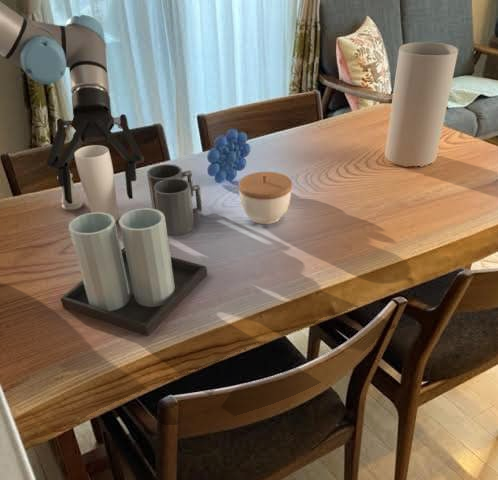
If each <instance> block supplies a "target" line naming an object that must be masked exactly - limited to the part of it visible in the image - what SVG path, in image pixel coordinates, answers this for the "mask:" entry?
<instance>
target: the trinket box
mask: <svg viewBox="0 0 498 480" xmlns="http://www.w3.org/2000/svg"><path fill="white" fill-rule="evenodd" d="M292 188H293V182H292V180H291V178H289V176H286V175H285V174H282V173H279V172H276V171H275V172H274V171H258V172H252V173H250V174H246V175H245V176H243V177H241V179H239V181H238V190H239V193H238V194H239V200H240V205H241V207H242V211H243V212H244V213H245V215H246V216H248V217H249V218H250V219H251V220H252V221H253V222H254V223H256V224H259V225H270V224H274V223H277V222H278V221H279V220H280V218H282V217H283V216H284V215H285V214H286V212H287V211H288V208H289V206H290V203H291V198H292Z"/></svg>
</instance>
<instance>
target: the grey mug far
mask: <svg viewBox="0 0 498 480" xmlns="http://www.w3.org/2000/svg"><path fill="white" fill-rule="evenodd" d="M146 175H147V182H148V188H149V195H150V200H151V208H152V209H156V210H157V208H156V201H155V195H154V188H153V187H154V185H155V184H156V183H157V182H159V181H161V180H165V179H171V178H179V179H184V178H185V177H186V178H187V180H186V181H188V182H189V183H190V187H191V186H194V184H193V183H194V182H193V173H192V170H186V171H183V169H182V167H180V165H179V166H178V165H176V164H159V165H155V166H152V167H150V168H149V169H148V170H147V171H146ZM194 192H195V191H192V192H191V198H194V195H195V193H194Z"/></svg>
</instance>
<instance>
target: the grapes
mask: <svg viewBox="0 0 498 480" xmlns="http://www.w3.org/2000/svg"><path fill="white" fill-rule="evenodd" d="M247 141H248V135H247V133H246V132H245V131H240V132H238V130H237V129H236V128H230V129H228V130H227V132H226V134H225V135H224V134H222V135H221V134H220V135H218V136H217V137H216V138H215V140H214V147H215V148H212V149H210V150H209V151H208V152H207V156H206V158H207V159H206V160H207V161H208V163H209V165H208V166H207V169H206V171H207V172H206V173H207V174H208V176H209V177H214V178H213V179H214V182H215V183H216V184H223V182H225V180H226V181H227V182H232V181H234V180H235V179H236V177H237V175H238V172H241V171H244V170H245V168H246V166H247V159H246V157H248V156H249V155H250V153H251V145H250V144H249V143H247Z"/></svg>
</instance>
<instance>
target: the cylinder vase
mask: <svg viewBox="0 0 498 480" xmlns="http://www.w3.org/2000/svg"><path fill="white" fill-rule="evenodd" d="M458 54H459V48H458V47H457V46H454V45H451V44H447V43H441V42H435V41H434V42H433V41H417V42H409V43H405V44H402V45H400V46H399V49H398V55H397V64H396V69H395V77H394V84H393V92H392V97H391V98H392V99H391V105H390V113H389V121H388V128H387V134H386V143H385V149H384V157H385V159H386V160H387V159H388V160H387V161H389V162H390V161H391V162H390V163H391V164H394V165H396V166H399V167H405V168H409V167H408V166H420V167H419V168H423V167H428V166H430V165H431V164H430V163H432V164H433V163H434V162H436V160H437V157H438V152H439V147H440V143H441V137H442V134H443V128H444V124H445V123H444V122H445V118H446V112H447V108H448V102H449V98H450V94H451V89H452V83H453V78H454V73H455V68H456V64H457V59H458ZM392 162H393V163H392ZM395 163H396V164H395ZM398 164H399V165H398ZM428 164H429V165H428ZM402 165H405V166H402ZM424 165H426V166H424Z"/></svg>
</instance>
